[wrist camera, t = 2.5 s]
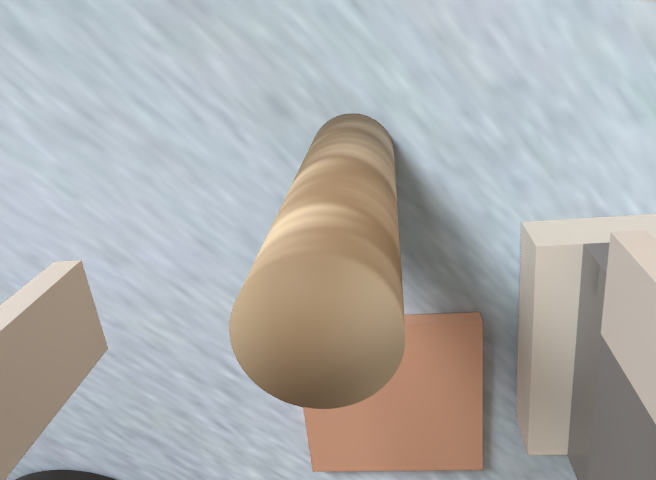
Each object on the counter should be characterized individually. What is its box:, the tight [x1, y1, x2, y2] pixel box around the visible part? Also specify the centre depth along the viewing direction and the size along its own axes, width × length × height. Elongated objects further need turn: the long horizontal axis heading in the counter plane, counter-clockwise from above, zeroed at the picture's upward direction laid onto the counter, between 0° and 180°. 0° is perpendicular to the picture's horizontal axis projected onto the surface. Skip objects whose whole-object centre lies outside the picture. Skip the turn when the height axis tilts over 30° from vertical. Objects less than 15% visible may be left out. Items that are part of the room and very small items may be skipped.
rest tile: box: [303, 312, 483, 472], centre depth 32 cm, size 10×10×1 cm
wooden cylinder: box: [229, 114, 405, 409], centre depth 20 cm, size 4×4×16 cm
